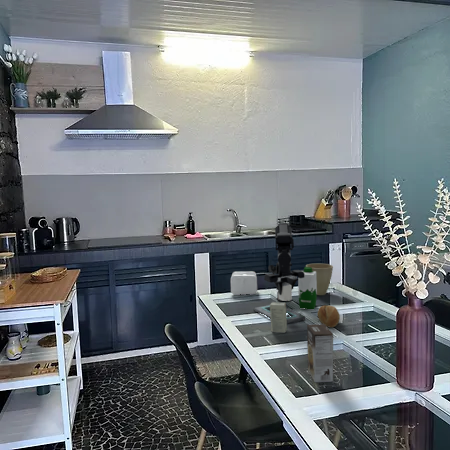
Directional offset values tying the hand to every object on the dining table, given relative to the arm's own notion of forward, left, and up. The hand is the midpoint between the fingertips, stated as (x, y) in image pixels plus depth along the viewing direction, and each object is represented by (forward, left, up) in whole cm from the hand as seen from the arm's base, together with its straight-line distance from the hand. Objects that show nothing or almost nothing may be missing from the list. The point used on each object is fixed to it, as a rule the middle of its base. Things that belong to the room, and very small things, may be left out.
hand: (284, 294), depth 195 cm
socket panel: (0, -6, -12) cm, 13 cm away
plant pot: (-40, -27, -12) cm, 50 cm away
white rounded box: (-4, -50, -12) cm, 52 cm away
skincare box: (+11, +12, -12) cm, 20 cm away
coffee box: (+21, +54, -12) cm, 59 cm away
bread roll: (-13, +15, -12) cm, 23 cm away
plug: (0, 0, -2) cm, 2 cm away
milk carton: (-19, -9, -12) cm, 24 cm away
